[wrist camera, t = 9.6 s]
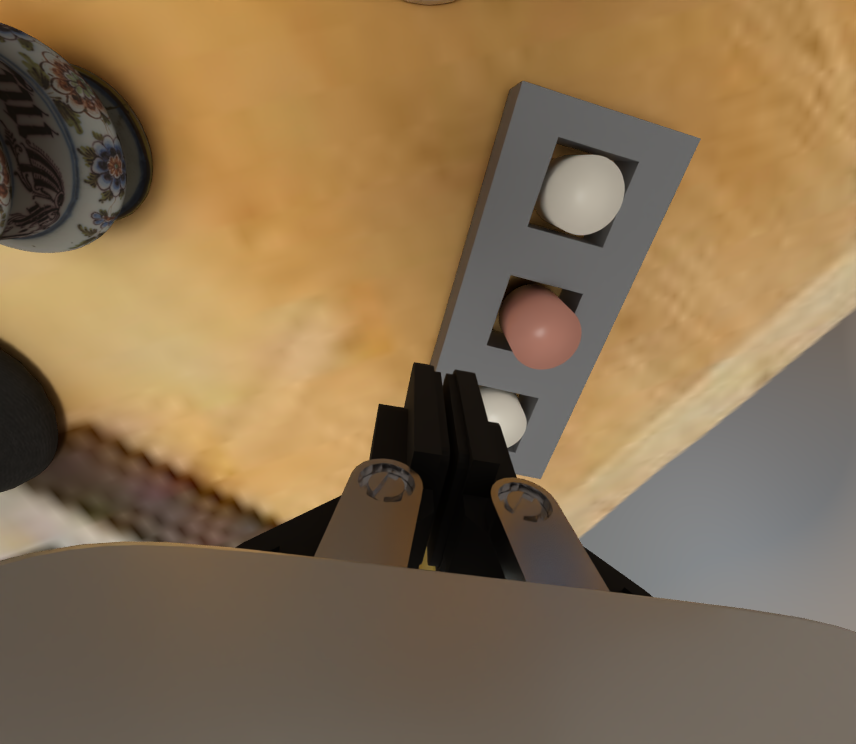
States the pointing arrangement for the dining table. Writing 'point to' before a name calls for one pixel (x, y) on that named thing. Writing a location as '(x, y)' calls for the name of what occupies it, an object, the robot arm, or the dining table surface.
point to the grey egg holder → (554, 252)
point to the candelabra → (23, 425)
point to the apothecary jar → (63, 150)
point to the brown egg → (539, 327)
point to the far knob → (504, 412)
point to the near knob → (580, 193)
